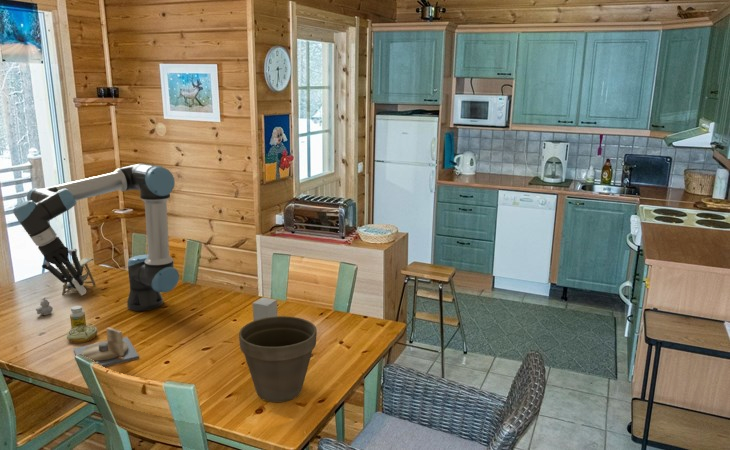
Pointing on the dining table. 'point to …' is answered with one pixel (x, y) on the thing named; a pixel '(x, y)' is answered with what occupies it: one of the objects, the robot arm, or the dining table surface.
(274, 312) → the supplement box
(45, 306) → the white animal figurine
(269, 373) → the plant pot
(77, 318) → the supplement bottle
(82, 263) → the swing bench
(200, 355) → the dining table surface
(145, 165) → the robot arm
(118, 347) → the dial
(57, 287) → the dining table surface
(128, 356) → the dial plate
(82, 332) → the decorated donut
